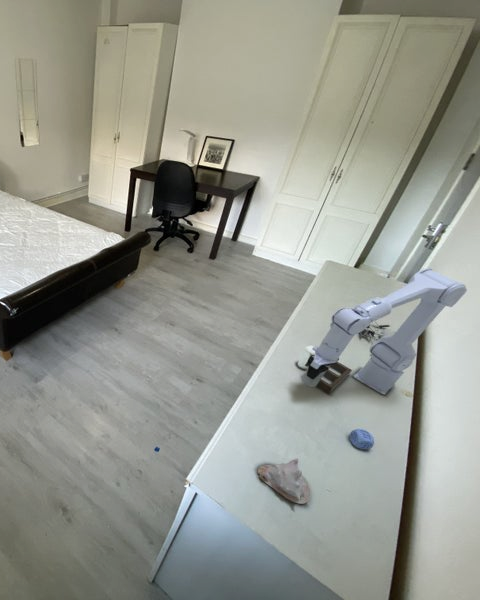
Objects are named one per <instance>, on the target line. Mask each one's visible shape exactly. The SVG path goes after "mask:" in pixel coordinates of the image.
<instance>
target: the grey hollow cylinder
mask: <svg viewBox="0 0 480 600" xmlns="http://www.w3.org/2000/svg"><path fill="white" fill-rule="evenodd" d="M330 365H331V363H330V364H325V366H326V367H328V368H329V369H330V368H331V367H330ZM307 371H308V368H307V369H305V372H304V373H303V375H302V376H301V379H300V381H301V382H302V383H303V384H304V385H305V386H307V387H310V388H316V387H317V386H316V385H317V384H318V382H319V381H320V380H321V379H322V378H323V377H324V376H323V375H324V374H325V372H326V371H325V372H322V373H320V374H319V375H318V376H317V377H316V378H315V379H313V380H312V379H311V378H309V377H308V376H307Z"/></svg>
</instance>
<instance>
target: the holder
mask: <svg viewBox="0 0 480 600" xmlns="http://www.w3.org/2000/svg"><path fill="white" fill-rule="evenodd" d="M330 368H331V369H333V370H335V371H336V372H338V373H340V375H339V374H337V373H336V372H334V371H332V370H331V369H330ZM352 371H353V369H351V368H349V367H348V366H346V365H345V364H342V363H340V362H339V361H337V362H336V363H333V364H331V365H330V367H329V369H328V370H327V371H326V372H325V374H324V375H323V377H324V378H326V379H328V380H329V381H330V382H331V384H330V383H329V382H327V381H325V380H324V379H322V378H321V380H320V381H319V382H318V384H317V385H316V386H315V387H317V388H318V389H320V390H321V391H323V392H325V393H327V394H328V395H329V394H330V393H332V392H333V390H334V389H336V388H337V387H338V385H340V384H341V383H342V382H343V381H344V380H345V379H346V378H347V377H348V376H350V374H351V372H352Z"/></svg>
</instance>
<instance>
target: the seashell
mask: <svg viewBox="0 0 480 600" xmlns="http://www.w3.org/2000/svg"><path fill="white" fill-rule="evenodd" d="M257 474H258V477H259V479H261V480H262V481H263V482H264V483H265V484H266V485H268V486H269V487H271V488H272V489H273V490H275V491H276V492H277V493H279V494H280V495H282V497H284V498H285V499H287V500H288V501H290V502H293V503H296V504H299V505H305V504H307V503H308V501H309V499H310V486H309V482H308V480H307V479H306V477H305V476H304V475H303V471H302V470H301V469H300V468H299V458H296V457H295V458H294V459H292V460H290V461H288V463H287V462H286V463H285V462H281V464H277V463H274V465H273V464H265V465H262V466H259V468H258V469H257Z"/></svg>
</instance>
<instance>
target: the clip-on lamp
mask: <svg viewBox="0 0 480 600" xmlns="http://www.w3.org/2000/svg"><path fill="white" fill-rule="evenodd" d="M374 323H375V324H376V325H375V324H374ZM371 324H372V325H373V327H375V328H374V329H372V328H371V325H369V326H368V327H366V328H365V329H364V330H363V331H362V332H360V334H361V336H364V335H365V336H368V337H370V338H371V339H372V340H373V341H374V342H377V337H376V336H375V335H377V336H379V338H381V337H384V336H393V335H394V334H395V332H396V330H394V329H392V328H390V327H391V324H381V325H380V324H378V322H377V320H376V321H373V322H371ZM382 328H385V329H382ZM381 329H382V330H381ZM380 330H381V331H380ZM379 331H380V332H379Z"/></svg>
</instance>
